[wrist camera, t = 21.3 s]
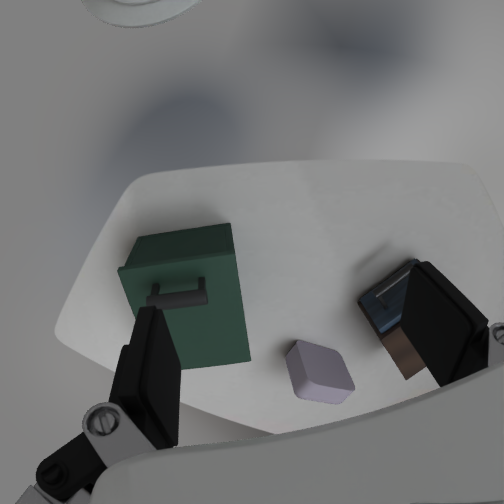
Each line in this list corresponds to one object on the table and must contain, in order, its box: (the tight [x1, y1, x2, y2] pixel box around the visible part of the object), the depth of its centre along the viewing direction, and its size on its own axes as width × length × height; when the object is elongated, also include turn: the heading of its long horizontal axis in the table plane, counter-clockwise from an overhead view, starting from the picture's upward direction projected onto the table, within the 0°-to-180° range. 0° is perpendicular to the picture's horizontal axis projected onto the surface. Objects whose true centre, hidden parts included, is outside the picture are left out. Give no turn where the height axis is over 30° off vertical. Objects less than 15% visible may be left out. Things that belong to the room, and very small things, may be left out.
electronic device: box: [286, 340, 355, 404], centre depth 50 cm, size 10×5×10 cm, turn 62°
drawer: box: [359, 258, 419, 334], centre depth 47 cm, size 18×11×8 cm, turn 37°
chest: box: [125, 223, 235, 266], centre depth 41 cm, size 16×13×9 cm
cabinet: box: [357, 259, 426, 380], centre depth 48 cm, size 15×13×10 cm
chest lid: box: [117, 250, 251, 370], centre depth 35 cm, size 16×13×5 cm
